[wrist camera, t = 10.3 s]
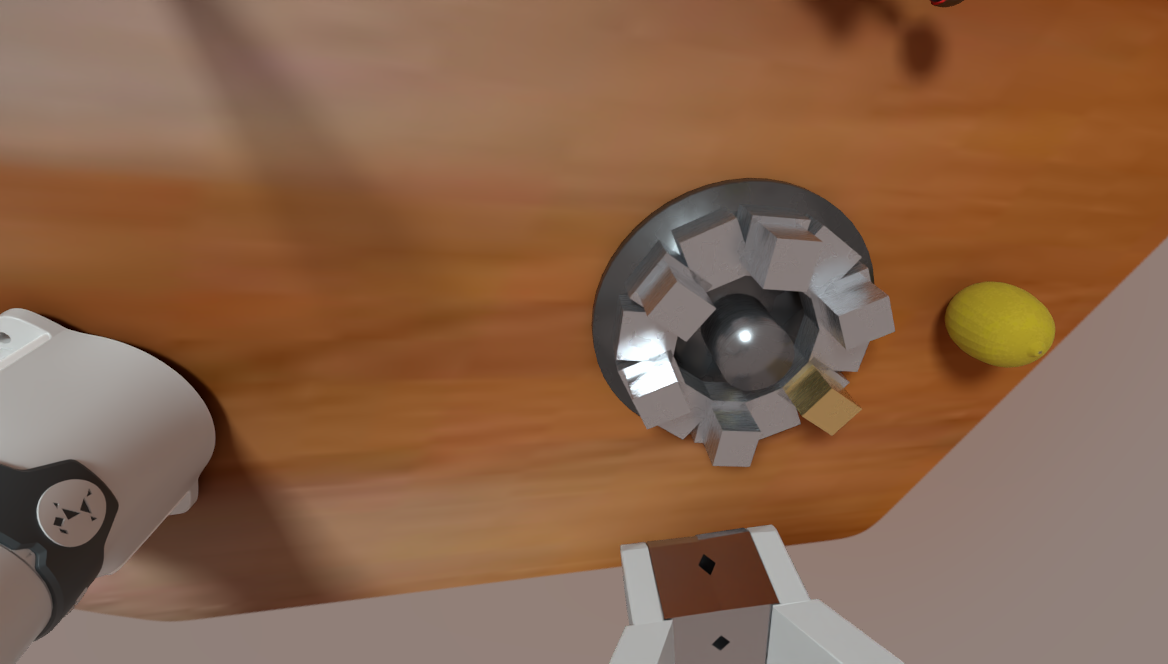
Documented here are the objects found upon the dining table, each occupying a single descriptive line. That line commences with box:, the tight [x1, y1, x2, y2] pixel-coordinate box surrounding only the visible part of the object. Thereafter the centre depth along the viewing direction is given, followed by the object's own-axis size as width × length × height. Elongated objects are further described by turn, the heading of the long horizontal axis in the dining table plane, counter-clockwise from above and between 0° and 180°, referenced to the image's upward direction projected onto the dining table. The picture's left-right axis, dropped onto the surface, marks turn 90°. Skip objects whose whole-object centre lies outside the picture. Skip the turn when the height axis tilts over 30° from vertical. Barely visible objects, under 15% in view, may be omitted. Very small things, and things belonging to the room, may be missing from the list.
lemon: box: [945, 282, 1055, 367], centre depth 39 cm, size 6×6×8 cm
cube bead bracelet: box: [612, 204, 895, 467], centre depth 39 cm, size 18×18×6 cm
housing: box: [592, 178, 874, 434], centre depth 39 cm, size 21×21×6 cm
